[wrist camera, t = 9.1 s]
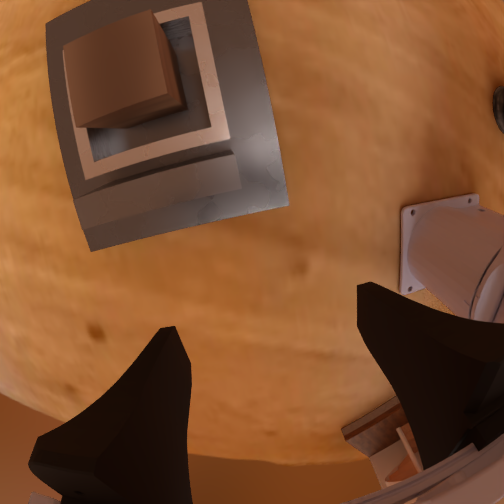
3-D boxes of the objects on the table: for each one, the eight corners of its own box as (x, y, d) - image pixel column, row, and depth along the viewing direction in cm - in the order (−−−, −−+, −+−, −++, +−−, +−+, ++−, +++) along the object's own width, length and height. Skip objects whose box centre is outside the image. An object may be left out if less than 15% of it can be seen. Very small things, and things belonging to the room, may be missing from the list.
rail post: (175, 52, 14) (150, 9, 8) (188, 109, 16) (167, 93, 9) (115, 72, 14) (63, 46, 8) (126, 128, 16) (75, 127, 9)
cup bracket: (235, -31, 13) (241, -79, 7) (285, 201, 20) (311, 229, 14) (53, 27, 13) (8, 5, 7) (96, 245, 20) (59, 285, 14)
